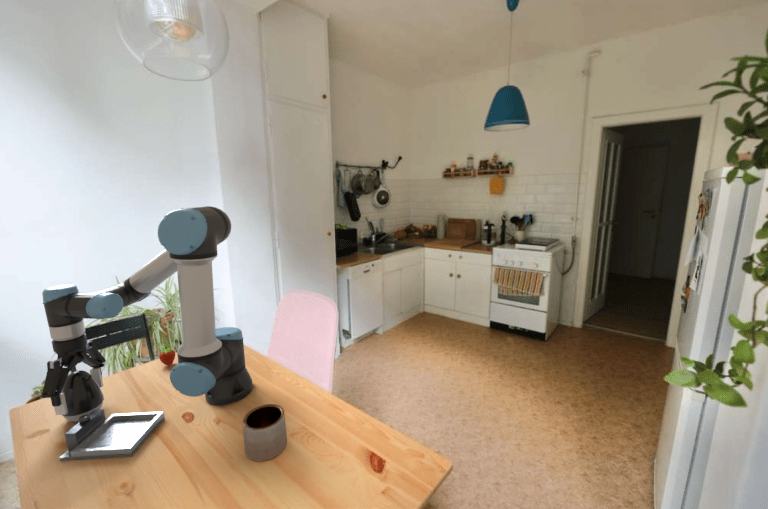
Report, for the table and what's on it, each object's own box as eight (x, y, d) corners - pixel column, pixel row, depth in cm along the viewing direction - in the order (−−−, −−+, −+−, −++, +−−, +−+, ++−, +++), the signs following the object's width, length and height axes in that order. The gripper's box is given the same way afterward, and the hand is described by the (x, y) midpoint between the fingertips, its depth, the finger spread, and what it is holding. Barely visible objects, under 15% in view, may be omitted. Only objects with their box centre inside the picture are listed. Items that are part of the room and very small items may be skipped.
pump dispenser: (80, 429, 98) (71, 382, 96) (53, 424, 100) (43, 379, 98) (114, 407, 108) (106, 364, 105) (89, 403, 110) (80, 361, 107)
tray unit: (164, 418, 103) (161, 397, 101) (131, 456, 88) (127, 432, 87) (103, 421, 101) (99, 400, 100) (59, 460, 87) (54, 436, 85)
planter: (247, 469, 84) (243, 436, 82) (243, 441, 93) (240, 410, 91) (291, 453, 88) (288, 421, 87) (283, 428, 98) (280, 399, 96)
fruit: (164, 370, 131) (161, 351, 129) (158, 366, 134) (155, 348, 132) (179, 364, 135) (176, 345, 134) (172, 360, 138) (170, 342, 136)
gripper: (89, 320, 111) (99, 377, 115) (12, 356, 87) (29, 428, 91) (112, 319, 112) (122, 376, 116) (43, 355, 87) (58, 426, 91)
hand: (81, 399), depth 103 cm, fingers open, 13 cm apart
